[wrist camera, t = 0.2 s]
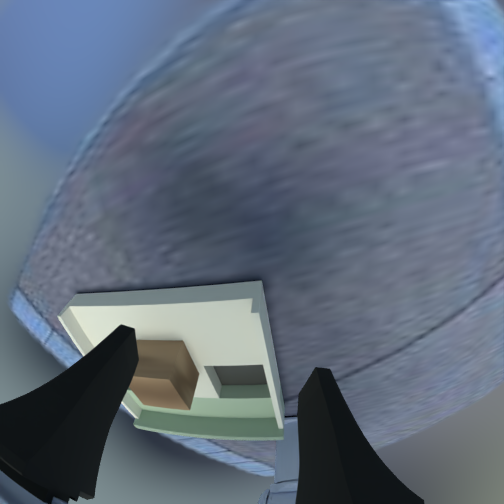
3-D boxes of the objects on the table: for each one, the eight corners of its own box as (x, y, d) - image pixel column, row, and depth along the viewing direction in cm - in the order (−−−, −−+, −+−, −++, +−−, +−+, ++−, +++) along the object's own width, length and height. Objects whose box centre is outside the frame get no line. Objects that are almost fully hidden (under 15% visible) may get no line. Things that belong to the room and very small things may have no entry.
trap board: (284, 406, 28) (283, 439, 24) (146, 401, 31) (136, 428, 27) (261, 280, 20) (257, 323, 16) (75, 293, 22) (51, 323, 18)
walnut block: (199, 374, 23) (190, 410, 19) (156, 371, 23) (143, 405, 20) (183, 340, 21) (169, 379, 17) (136, 339, 21) (119, 374, 18)
